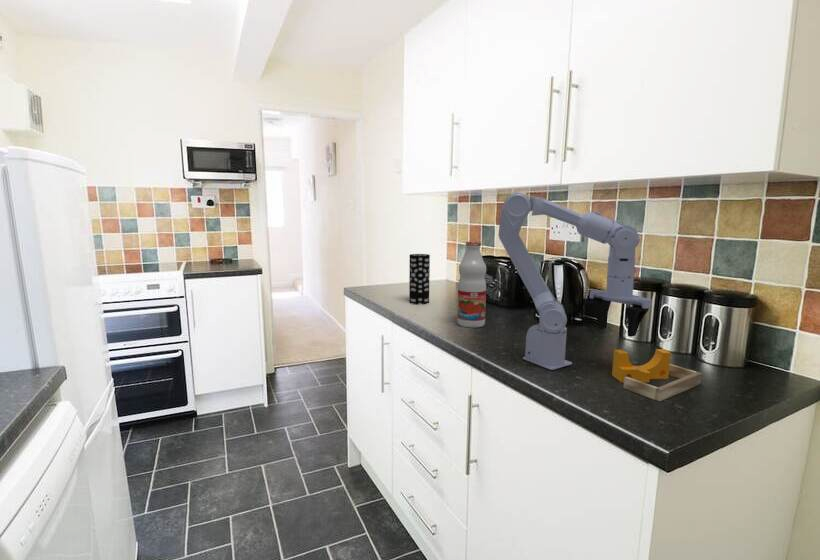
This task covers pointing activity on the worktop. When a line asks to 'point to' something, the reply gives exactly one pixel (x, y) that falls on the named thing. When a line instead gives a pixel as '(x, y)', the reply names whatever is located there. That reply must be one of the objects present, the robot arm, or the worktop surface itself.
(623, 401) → the worktop surface
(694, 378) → the tray
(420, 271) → the spotted tube
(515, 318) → the worktop surface
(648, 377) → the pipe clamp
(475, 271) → the fruit juice
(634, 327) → the robot arm
